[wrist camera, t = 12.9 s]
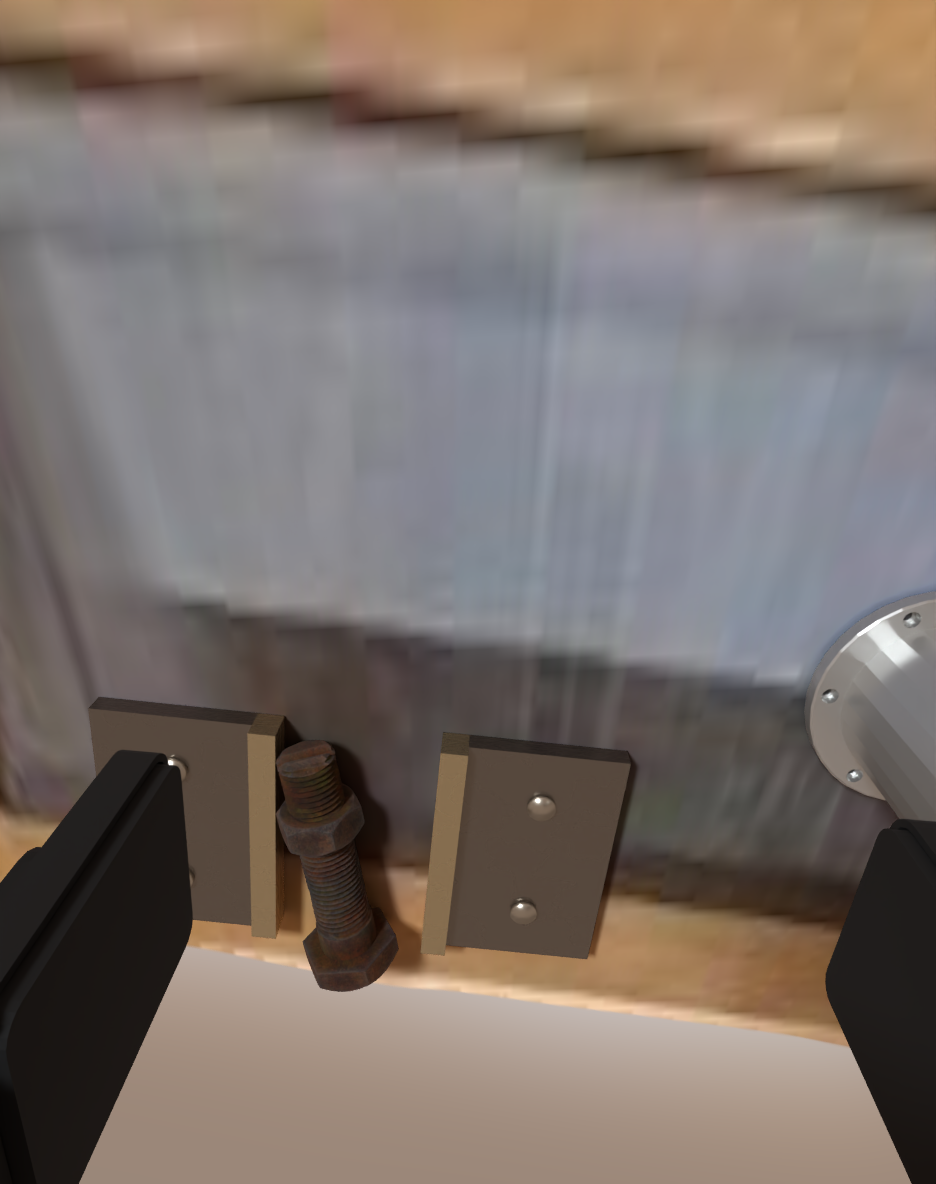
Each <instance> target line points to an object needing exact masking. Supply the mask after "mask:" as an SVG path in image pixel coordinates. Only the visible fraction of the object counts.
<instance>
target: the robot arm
mask: <svg viewBox="0 0 936 1184" xmlns="http://www.w3.org/2000/svg"><path fill="white" fill-rule="evenodd" d="M804 714H805V727H806V731H807V734H808V737H809V740H810V743H811V746H812V747H813V749H814V750H815V752H816V754H817V755H818V757H819V759H820V760H821V762H822V763H823V764H824V766H825V767H826V768H827V769H828V771H829V772H830V773H831V774H832V775H833V776H834V777H835V778H836V779H838V780H839V781H840V782H841V783H842V784H844V785H845V786H847V787H849V788H851V789H853V790H855V791H857V792H859V793H861V794H863V795H866V796H869V797H873V798H877V799H880V800H884V801H887V802H888V804H889V805H890V807H891V808H892V809H893V811H894V812H895V813H896V815H897V816H898V818H899V819H898V820H896V821H895V822H894V823H893V824H892V826H891V827H890V829H883V830H882V831H881V832H880V833H879V835H878V837H877V839H876V842H875V845H874V847H873V850H872V852H871V855H870V858H869V860H868V863H867V866H866V868H865V871H864V874H863V876H862V879H861V881H860V884H859V887H858V889H857V892H856V895H855V897H854V900H853V902H852V905H851V908H850V910H849V913H848V916H847V918H846V921H845V924H844V926H843V929H842V931H841V934H840V937H839V939H838V942H837V945H836V947H835V950H834V952H833V955H832V958H831V960H830V963H829V966H828V968H827V972H826V981H825V982H826V991H827V996H828V999H829V1001H830V1004H831V1006H832V1008H833V1011H834V1013H835V1015H836V1017H837V1019H838V1022H839V1024H840V1026H841V1028H842V1031H843V1033H844V1035H845V1037H846V1039H847V1042H848V1044H849V1046H850V1048H851V1050H852V1053H853V1055H854V1057H855V1059H856V1061H857V1064H858V1066H859V1068H860V1070H861V1073H862V1075H863V1077H864V1079H865V1081H866V1084H867V1086H868V1088H869V1090H870V1092H871V1095H872V1097H873V1099H874V1101H875V1104H876V1106H877V1108H878V1110H879V1112H880V1115H881V1117H882V1119H883V1121H884V1123H885V1125H886V1127H887V1130H888V1132H889V1134H890V1136H891V1139H892V1141H893V1143H894V1146H895V1148H896V1150H897V1152H898V1154H899V1157H900V1159H901V1161H902V1163H903V1165H904V1168H905V1170H906V1172H907V1174H908V1177H909V1179H910V1181H911V1183H912V1184H936V591H933V592H927V593H923V594H919V595H914V596H910V597H906V598H903V599H901V600H898V601H896V602H893V603H891V604H888V605H886V606H883V607H881V608H880V609H878V610H876V611H874V612H873V613H871V614H869V615H868V616H866V617H864V618H863V619H861V620H860V621H858V622H857V623H856V624H855V625H853V626H852V627H851V628H850V629H849V630H847V631H846V632H845V633H844V634H842V635H841V636H840V637H839V639H838V640H837V641H836V642H835V643H834V644H833V645H832V646H831V648H830V649H829V650H828V651H827V652H826V653H825V655H824V657H823V658H822V660H821V662H820V663H819V665H818V666H817V668H816V670H815V671H814V674H813V676H812V679H811V682H810V684H809V687H808V690H807V695H806V701H805V708H804ZM192 921H193V911H192V899H191V887H190V875H189V863H188V851H187V839H186V827H185V815H184V803H183V791H182V779H181V772H180V769H179V767H178V766H176V765H169V763H168V759H167V757H166V755H165V754H163V753H156V752H144V751H133V750H119V751H117V752H116V753H115V754H114V755H113V756H112V757H111V759H110V760H109V761H108V762H107V764H106V765H105V766H104V768H103V769H102V770H101V771H100V773H99V774H98V775H97V777H96V778H95V779H94V780H93V782H92V783H91V784H90V786H89V787H88V788H87V789H86V791H85V792H84V793H83V795H82V796H81V797H80V798H79V800H78V801H77V802H76V804H75V805H74V806H73V807H72V809H71V810H70V811H69V813H68V814H67V815H66V817H65V818H64V819H63V820H62V822H61V823H60V824H59V826H58V827H57V828H56V829H55V831H54V832H53V833H52V835H51V836H50V837H49V838H48V840H47V841H46V842H45V844H44V845H43V846H42V847H35V848H33V849H31V850H29V851H27V852H26V853H25V854H24V855H23V856H22V857H21V858H20V859H19V860H18V861H17V863H16V864H15V865H14V866H13V868H12V869H11V870H10V871H9V873H8V874H7V875H6V876H5V878H4V879H3V880H2V881H1V883H0V1184H79V1182H80V1180H81V1178H82V1175H83V1173H84V1171H85V1169H86V1166H87V1164H88V1162H89V1160H90V1158H91V1155H92V1153H93V1151H94V1149H95V1147H96V1144H97V1142H98V1140H99V1138H100V1135H101V1133H102V1131H103V1129H104V1127H105V1124H106V1122H107V1120H108V1118H109V1116H110V1113H111V1111H112V1109H113V1107H114V1104H115V1102H116V1100H117V1098H118V1096H119V1093H120V1091H121V1089H122V1087H123V1085H124V1082H125V1080H126V1078H127V1076H128V1074H129V1071H130V1069H131V1067H132V1065H133V1063H134V1060H135V1058H136V1056H137V1054H138V1051H139V1049H140V1047H141V1045H142V1043H143V1040H144V1038H145V1036H146V1034H147V1032H148V1029H149V1027H150V1025H151V1023H152V1021H153V1018H154V1016H155V1014H156V1012H157V1009H158V1007H159V1005H160V1003H161V1001H162V998H163V996H164V994H165V992H166V990H167V987H168V985H169V983H170V981H171V978H172V976H173V974H174V972H175V970H176V968H177V965H178V963H179V961H180V959H181V957H182V954H183V952H184V950H185V948H186V945H187V943H188V940H189V937H190V933H191V928H192Z"/></svg>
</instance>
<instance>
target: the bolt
mask: <svg viewBox="0 0 936 1184" xmlns="http://www.w3.org/2000/svg"><path fill="white" fill-rule="evenodd" d="M276 764H277V770H278V772H279V776H280V780H281V783H282V784H281V785H282V787H283V791H284V795H285V801H284V802H283V804H282V805H281V807H280V808H279V810H278V811H277V812H276V817H277V821H278V824H279V828H280V831H281V834H282V836H283V839H284V841H285V843H286V846H287V848H288V849H289V851H290V852H291V853H292V854H296V855H300V859H301V864H302V866H303V870H304V874H305V878H306V883H307V886H308V889H309V891H310V895H311V900H312V904H313V905H312V906H313V909H314V914H315V917H316V928H315V929H314V930H313V931H312V932H311V933H310V934H309V935H308V937H307V938H306V939H305V940H304V941H303V945H304V948H305V952H306V955H307V958H308V961H309V964H310V966H311V969H312V971H313V974H314V976H315V979H316V981H317V983H318V985H319V987H320V988H322V989H326V990H331V991H338V992H340V991H341V992H345V991H353V990H357V989H360V988H363V987H365V986H368V985H370V984H371V983H373V982H374V981H376V980H377V979H378V978H379V977H380V976H381V975H382V974H383V973H384V972H385V971H386V970H387V968H388V967H389V965H390V964H391V962H392V961H393V959H394V957H395V955H396V953H397V951H398V944H397V939H396V935H395V933H394V932H393V930H392V928H391V926H390V925H389V923H388V921H387V920H386V918H385V916H384V915H383V913H382V911H381V909H380V908H371V907H370V905H369V903H368V899H367V894H366V891H365V884H364V880H363V876H362V871H361V867H360V862H359V858H358V854H357V849H356V844H355V841H354V838H355V837H356V835H357V834H358V833H359V831H360V830H361V828H362V826H363V825H364V823H365V821H364V817H363V812H362V807H361V805H360V803H359V801H358V799H357V797H356V795H355V794H354V792H353V790H352V789H351V788H350V787H349V786H347V785H344V784H342V781H341V778H340V774H339V770H338V765H337V760H336V755H335V750H334V748H333V747H332V746H331V745H330V744H329V743H328V742H326V741H323V740H308V741H303V742H299V743H297V744H295V745H292V746H290V747H288V748H286V749H285V750H283V751H282V753H281V754H280V755H279V756H278V758H277V761H276Z"/></svg>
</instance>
